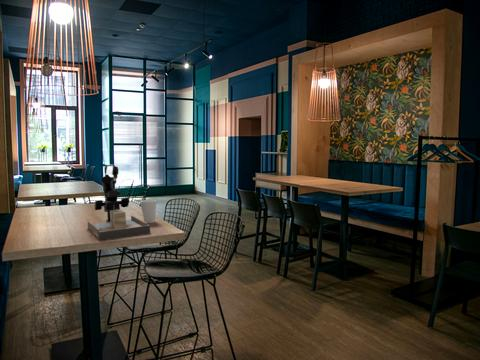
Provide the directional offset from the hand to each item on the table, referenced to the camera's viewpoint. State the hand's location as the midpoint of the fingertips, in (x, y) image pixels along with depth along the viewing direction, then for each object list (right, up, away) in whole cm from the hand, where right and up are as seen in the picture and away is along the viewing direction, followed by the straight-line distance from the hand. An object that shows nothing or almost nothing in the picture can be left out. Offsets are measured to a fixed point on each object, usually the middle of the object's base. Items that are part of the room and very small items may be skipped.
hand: (115, 215), depth 222 cm
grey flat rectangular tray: (+3, -8, -3) cm, 9 cm away
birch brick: (+3, -6, -4) cm, 8 cm away
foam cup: (+15, -6, +19) cm, 25 cm away
